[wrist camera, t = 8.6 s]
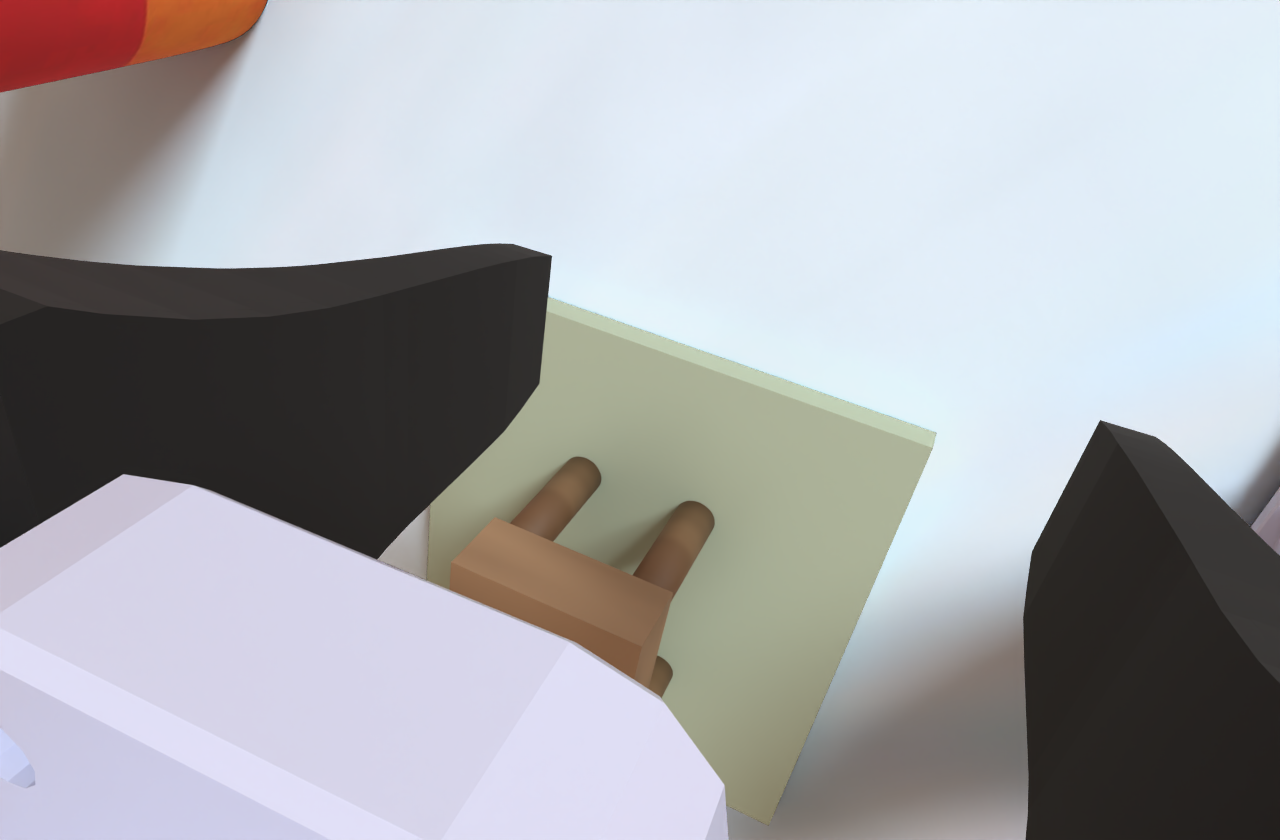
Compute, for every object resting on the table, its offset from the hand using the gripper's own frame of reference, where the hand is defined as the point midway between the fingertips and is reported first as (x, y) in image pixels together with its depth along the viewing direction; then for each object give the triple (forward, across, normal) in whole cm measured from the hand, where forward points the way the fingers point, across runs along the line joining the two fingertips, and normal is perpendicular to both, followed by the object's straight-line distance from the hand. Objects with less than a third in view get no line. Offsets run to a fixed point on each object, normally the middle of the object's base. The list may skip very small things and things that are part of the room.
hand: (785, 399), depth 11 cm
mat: (+10, +4, +13) cm, 17 cm away
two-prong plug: (+9, +4, +13) cm, 17 cm away
